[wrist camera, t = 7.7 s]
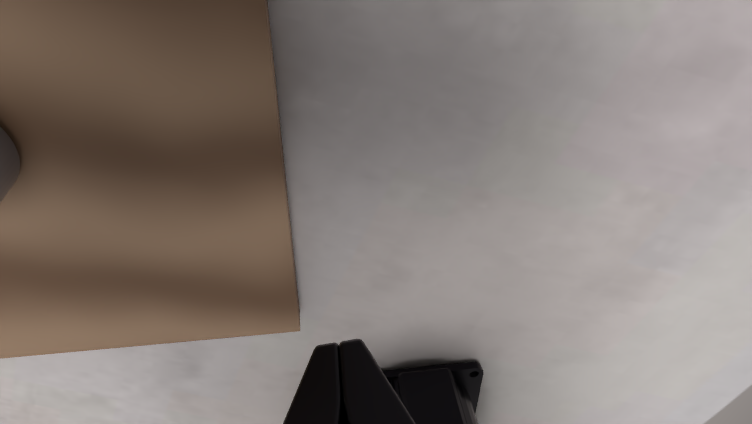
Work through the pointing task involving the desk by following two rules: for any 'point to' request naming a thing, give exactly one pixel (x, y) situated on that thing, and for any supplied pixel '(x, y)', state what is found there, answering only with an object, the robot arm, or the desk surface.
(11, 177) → the pointer
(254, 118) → the brown wooden board
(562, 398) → the desk surface
